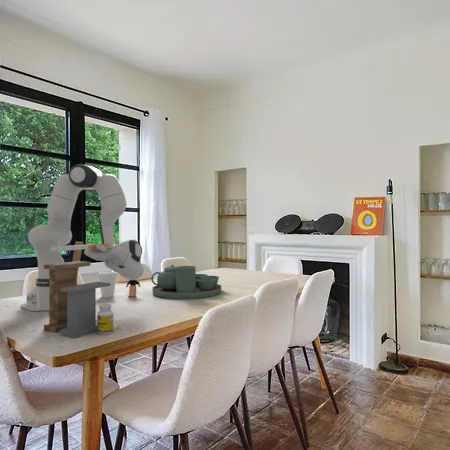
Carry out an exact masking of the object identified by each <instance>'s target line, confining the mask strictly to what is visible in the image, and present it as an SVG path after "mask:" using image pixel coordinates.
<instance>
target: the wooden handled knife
mask: <svg viewBox="0 0 450 450" xmlns="http://www.w3.org/2000/svg"><path fill="white" fill-rule="evenodd" d="M95 244H96V243H92V244H89V245H88V244H83V245H75V244H73V245H64V246H52V247H51V251H60V252H63V251H64V252H65V251H74V250H81V249H82V250H85V249H96V248H95V247H94V246H95ZM99 244H100V245H103V246H106V247H110V244H103V243H99Z"/></svg>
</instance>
